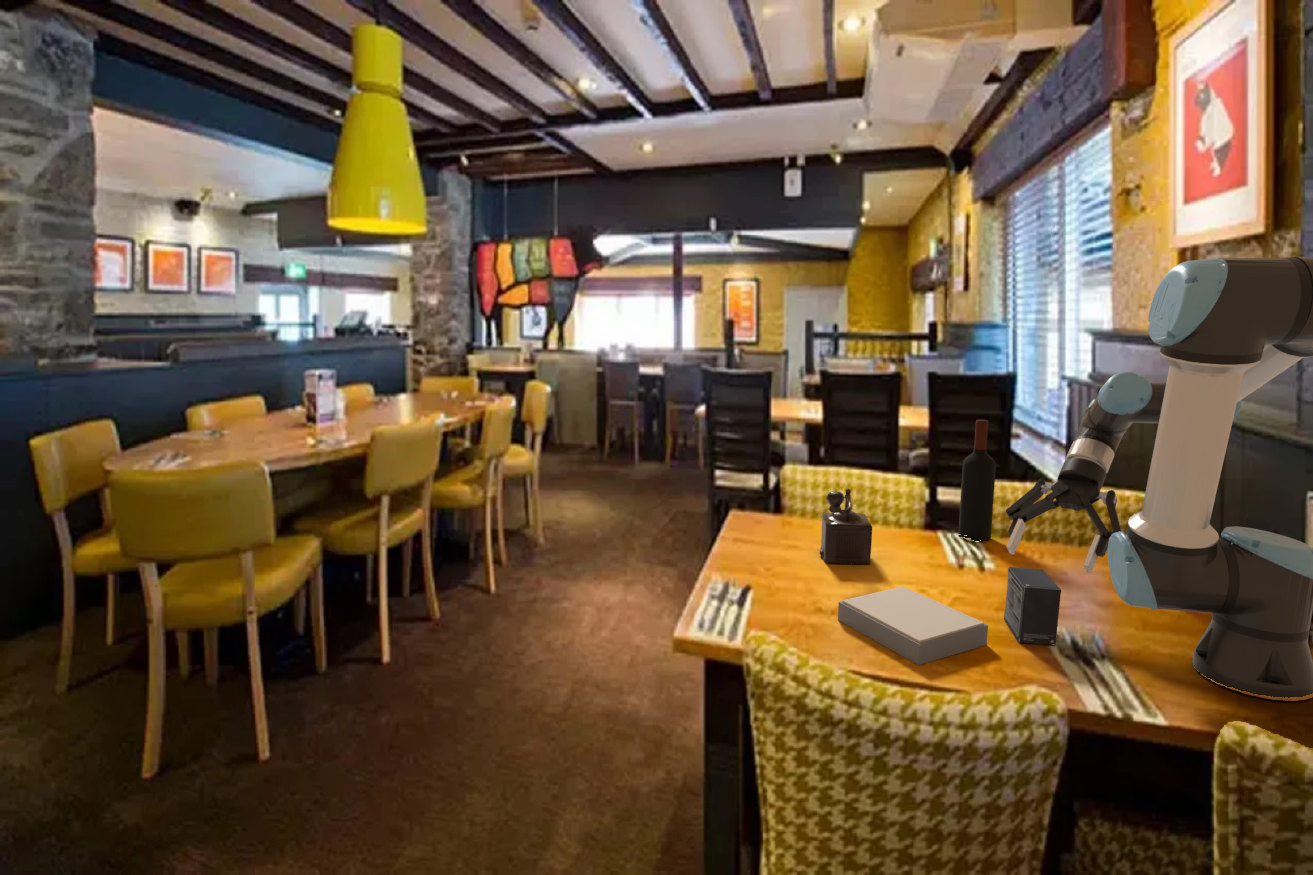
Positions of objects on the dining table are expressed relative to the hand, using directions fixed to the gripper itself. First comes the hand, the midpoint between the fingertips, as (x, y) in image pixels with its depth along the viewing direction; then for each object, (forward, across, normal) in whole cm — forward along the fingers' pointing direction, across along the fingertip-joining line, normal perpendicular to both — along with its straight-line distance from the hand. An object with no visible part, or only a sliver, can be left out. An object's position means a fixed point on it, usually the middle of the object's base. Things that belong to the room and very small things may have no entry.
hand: (1047, 559), depth 136 cm
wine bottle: (-18, +32, -35) cm, 51 cm away
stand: (+25, +14, +9) cm, 29 cm away
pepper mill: (+8, +44, -8) cm, 45 cm away
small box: (+14, -1, -3) cm, 14 cm away
